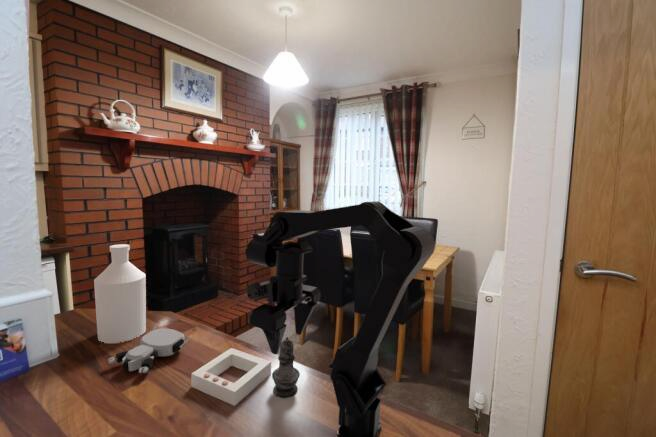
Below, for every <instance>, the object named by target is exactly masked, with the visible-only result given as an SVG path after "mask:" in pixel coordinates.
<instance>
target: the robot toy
mask: <svg viewBox="0 0 656 437" xmlns="http://www.w3.org/2000/svg"><path fill="white" fill-rule="evenodd" d="M192 337H193V335H192V334H191V335H190V336H189V337H188V338H187V339H186V338H185V334H184V333H182V332H180V331H179V330H177V329H172V328H157V326H154V327H153V329H152V330H150V331H149V332H147V333H146V334H144V335H142V337H141V338H140V340H139V345H138V346H135V347H133V348H132V349H130V350H128V351H127V350H126V351H125V350H123V351H120V352H118V353H115V356H111V357H110V358H108V359H107V362H108V364H110V365H112V364H115V363H116V362H117V364H120V363H122V366H121V368H122V370H124V371H129V372H133V371H136V370H138V373H139V374H142V373H143V374H146V373H147V372H148V371H150V370H151V369H152V367H153V365H154V360H156V359H157V358H158V357H161V358H162V357H165V358H166V357H169V356H173V355H174V354H176V353H177V352H179V351H180V350H181V349H183V348H184V347H185V345H186V344H187V342H188V341H189V340H190V339H192Z"/></svg>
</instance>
